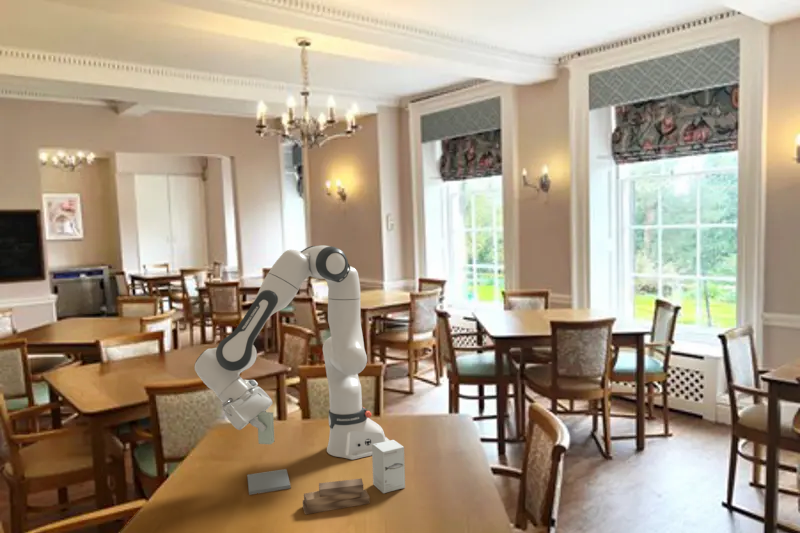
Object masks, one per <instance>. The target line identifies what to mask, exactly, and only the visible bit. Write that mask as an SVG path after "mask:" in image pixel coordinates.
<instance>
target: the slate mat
mask: <svg viewBox="0 0 800 533" xmlns="http://www.w3.org/2000/svg"><path fill="white" fill-rule="evenodd" d="M246 476H247V485H248V495H249V496H250V495H256V494H257V493H258V494H264V493H270V492H275V491H282V490H288V489H291V482H290V478H289V474H288V470H287V468H285V469H284V468H283V469H277V470H271V471H263V472H258V473H250V474H247V475H246Z"/></svg>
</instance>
